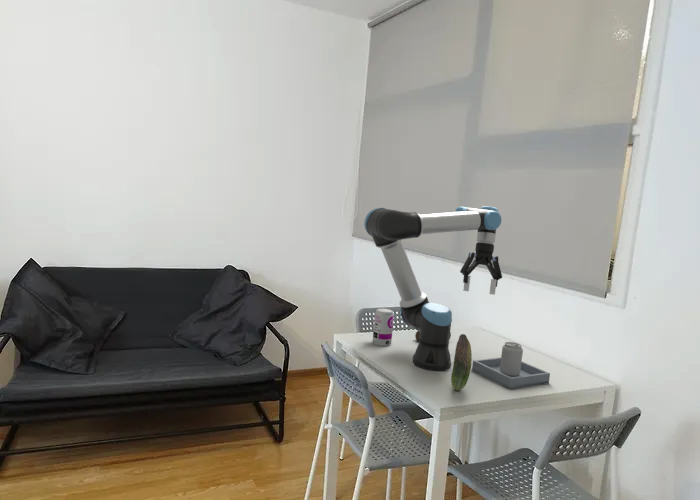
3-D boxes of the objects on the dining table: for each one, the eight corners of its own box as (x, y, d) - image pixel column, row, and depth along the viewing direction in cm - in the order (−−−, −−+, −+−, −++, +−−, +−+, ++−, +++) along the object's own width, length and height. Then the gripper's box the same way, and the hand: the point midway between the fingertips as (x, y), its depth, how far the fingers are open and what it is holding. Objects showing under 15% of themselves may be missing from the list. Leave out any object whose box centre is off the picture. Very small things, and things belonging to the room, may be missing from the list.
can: (516, 379, 193) (520, 348, 192) (496, 374, 197) (500, 343, 196) (521, 374, 200) (525, 343, 198) (502, 369, 204) (506, 339, 202)
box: (510, 389, 185) (511, 378, 184) (471, 370, 202) (472, 360, 202) (548, 383, 195) (550, 373, 194) (509, 365, 212) (510, 356, 212)
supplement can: (394, 343, 229) (397, 310, 227) (385, 347, 222) (388, 313, 220) (378, 339, 233) (381, 307, 232) (369, 343, 226) (372, 309, 225)
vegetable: (457, 385, 184) (463, 331, 182) (472, 391, 180) (478, 335, 177) (447, 388, 180) (453, 332, 178) (461, 395, 176) (468, 337, 173)
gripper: (502, 247, 229) (496, 294, 228) (455, 238, 219) (449, 288, 219) (514, 247, 222) (508, 296, 221) (466, 238, 212) (460, 290, 212)
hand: (479, 292), depth 220 cm, fingers open, 13 cm apart
